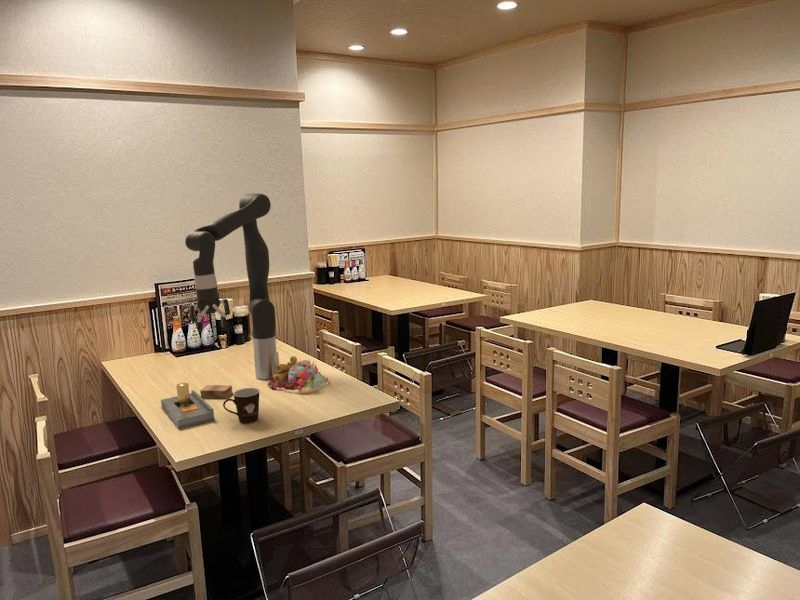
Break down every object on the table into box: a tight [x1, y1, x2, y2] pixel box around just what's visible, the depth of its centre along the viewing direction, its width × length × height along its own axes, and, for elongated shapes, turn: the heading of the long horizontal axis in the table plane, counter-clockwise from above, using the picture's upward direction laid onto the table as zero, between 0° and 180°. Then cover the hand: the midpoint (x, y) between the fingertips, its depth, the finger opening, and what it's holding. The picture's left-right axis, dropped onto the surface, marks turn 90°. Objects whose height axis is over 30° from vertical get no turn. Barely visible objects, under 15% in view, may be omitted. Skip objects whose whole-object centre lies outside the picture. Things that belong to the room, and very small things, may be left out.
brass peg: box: [175, 382, 190, 407], centre depth 215 cm, size 4×4×10 cm
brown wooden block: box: [200, 384, 233, 399], centre depth 231 cm, size 10×6×3 cm, turn 83°
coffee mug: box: [222, 387, 260, 425], centre depth 205 cm, size 12×9×10 cm
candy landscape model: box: [267, 355, 330, 395], centre depth 242 cm, size 25×24×9 cm
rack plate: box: [160, 389, 215, 430], centre depth 213 cm, size 24×12×4 cm, turn 34°
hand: (212, 329), depth 223 cm, fingers open, 8 cm apart
